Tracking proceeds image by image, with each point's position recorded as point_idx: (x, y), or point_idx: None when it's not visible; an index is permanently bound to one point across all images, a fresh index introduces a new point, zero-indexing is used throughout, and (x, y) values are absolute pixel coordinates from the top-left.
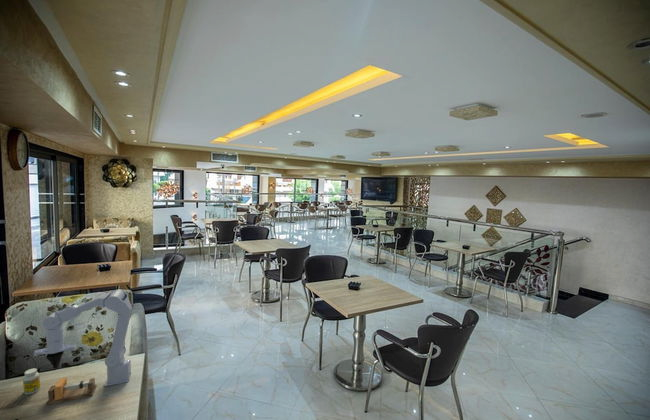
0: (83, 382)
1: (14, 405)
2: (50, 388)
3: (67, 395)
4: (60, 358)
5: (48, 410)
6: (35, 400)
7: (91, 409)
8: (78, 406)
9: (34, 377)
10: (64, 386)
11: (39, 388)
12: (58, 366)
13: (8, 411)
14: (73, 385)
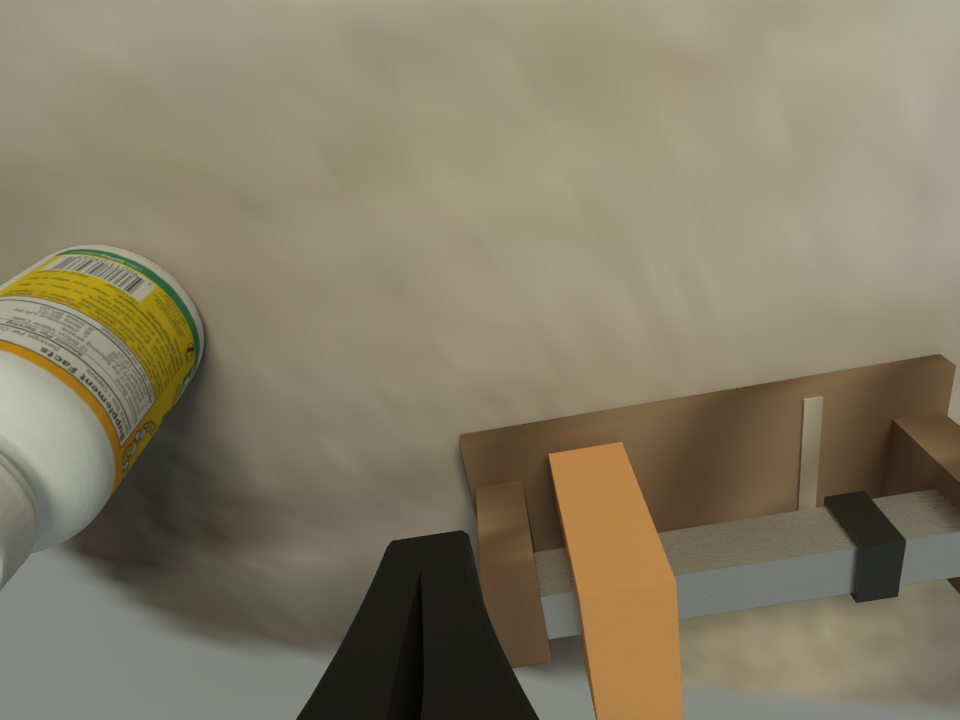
0: (897, 561)
1: (149, 547)
2: (499, 629)
3: (660, 513)
4: (510, 696)
5: (556, 639)
6: (321, 504)
7: (936, 666)
8: (813, 625)
9: (86, 515)
10: None
11: (200, 326)
12: (475, 572)
13: (170, 612)
14: (779, 603)
